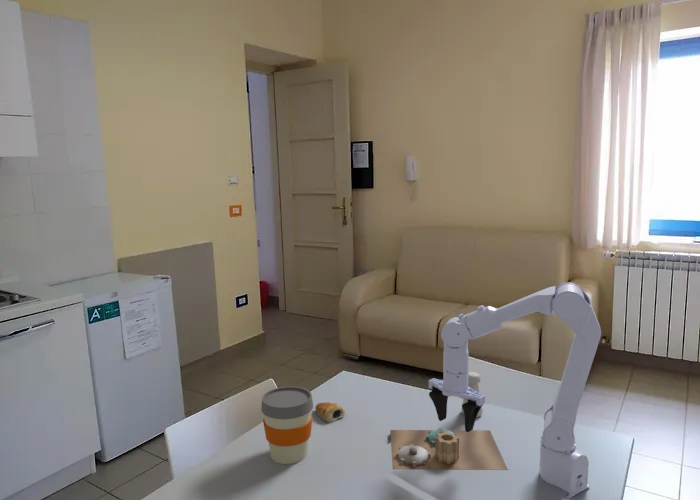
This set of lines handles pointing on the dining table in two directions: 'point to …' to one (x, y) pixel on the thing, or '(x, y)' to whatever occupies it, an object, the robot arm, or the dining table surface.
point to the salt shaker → (473, 387)
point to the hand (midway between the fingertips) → (455, 424)
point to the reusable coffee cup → (287, 422)
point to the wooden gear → (447, 447)
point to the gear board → (420, 450)
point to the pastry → (329, 411)
